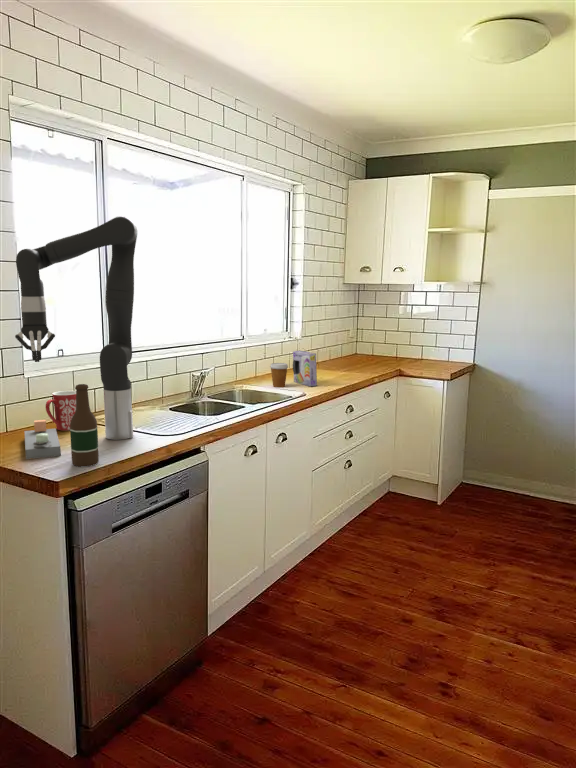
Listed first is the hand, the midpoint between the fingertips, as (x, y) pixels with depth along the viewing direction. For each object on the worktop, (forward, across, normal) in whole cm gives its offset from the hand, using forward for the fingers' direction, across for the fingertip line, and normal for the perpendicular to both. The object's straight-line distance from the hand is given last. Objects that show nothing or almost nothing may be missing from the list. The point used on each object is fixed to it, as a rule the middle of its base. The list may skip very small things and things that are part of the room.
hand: (36, 361), depth 200 cm
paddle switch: (+24, 0, +2) cm, 24 cm away
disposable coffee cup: (+27, -118, -66) cm, 138 cm away
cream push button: (+24, 0, +17) cm, 29 cm away
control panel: (+27, 0, +11) cm, 29 cm away
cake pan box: (+27, -134, -68) cm, 153 cm away
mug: (+27, -8, -12) cm, 31 cm away
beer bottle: (+27, -11, +35) cm, 46 cm away
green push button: (+22, 0, +22) cm, 31 cm away
